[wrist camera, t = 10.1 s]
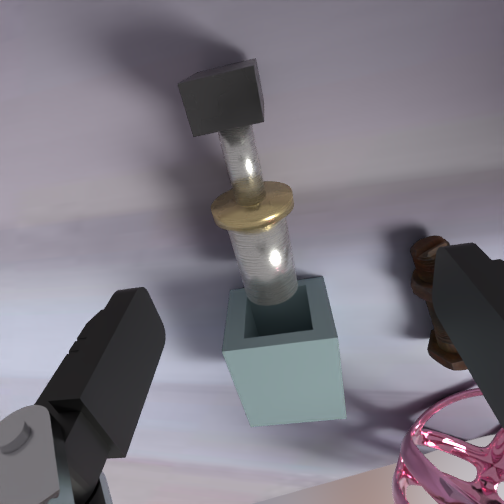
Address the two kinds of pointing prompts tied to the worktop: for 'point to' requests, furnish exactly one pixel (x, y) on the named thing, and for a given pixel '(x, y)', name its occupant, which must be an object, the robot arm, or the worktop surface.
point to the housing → (285, 357)
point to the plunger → (245, 179)
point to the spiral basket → (483, 458)
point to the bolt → (422, 287)
